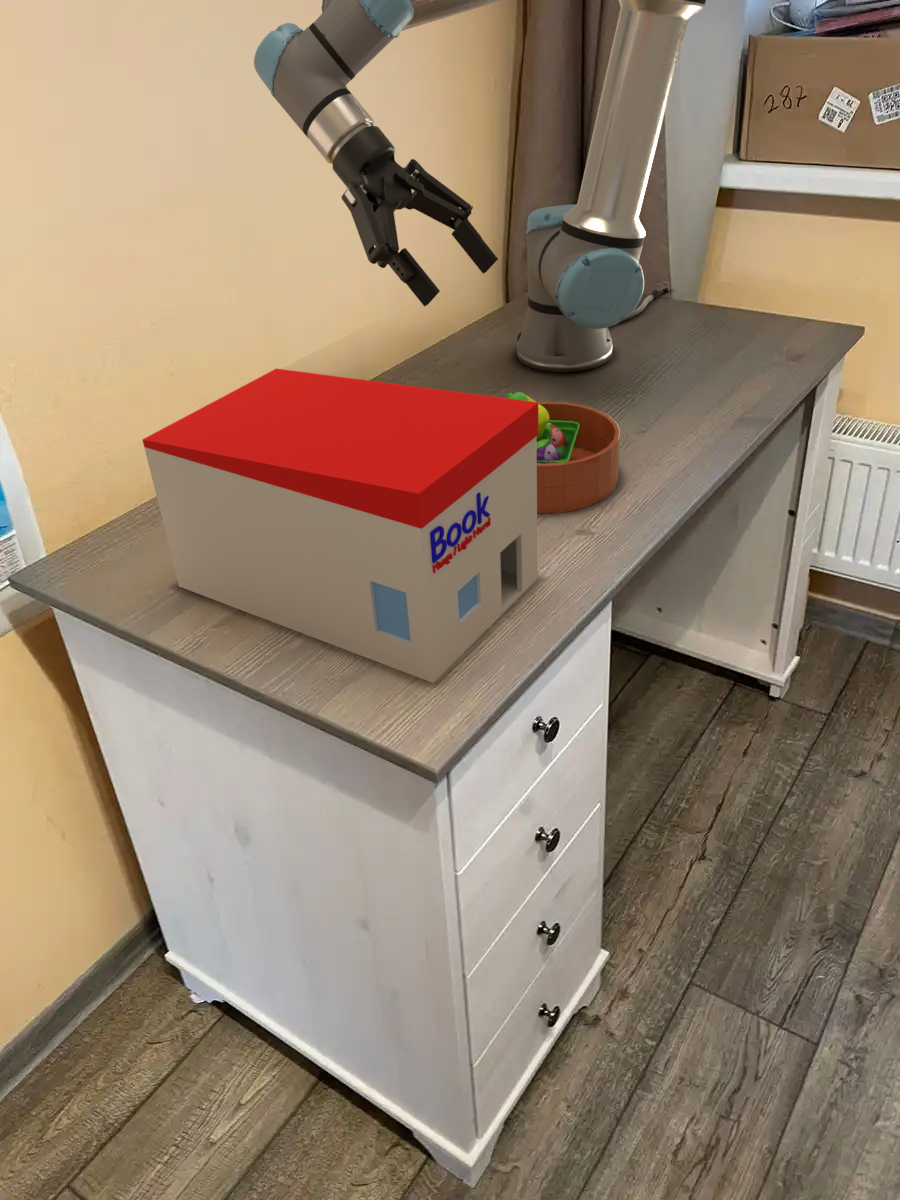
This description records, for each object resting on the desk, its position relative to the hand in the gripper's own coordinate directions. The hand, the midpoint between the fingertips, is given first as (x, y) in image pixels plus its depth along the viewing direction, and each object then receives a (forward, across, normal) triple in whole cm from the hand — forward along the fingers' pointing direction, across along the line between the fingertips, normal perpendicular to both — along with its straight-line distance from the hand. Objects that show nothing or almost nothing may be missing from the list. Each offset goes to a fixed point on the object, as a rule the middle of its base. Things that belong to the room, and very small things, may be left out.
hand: (462, 282), depth 127 cm
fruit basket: (+25, +4, -7) cm, 26 cm away
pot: (+26, +3, -7) cm, 27 cm away
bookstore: (+21, +34, -12) cm, 42 cm away
